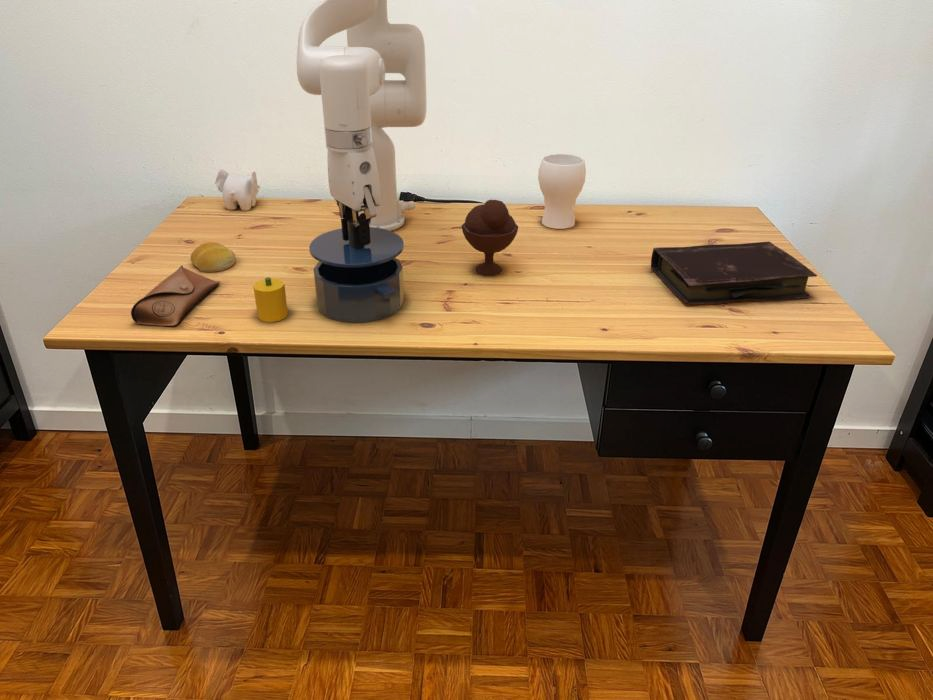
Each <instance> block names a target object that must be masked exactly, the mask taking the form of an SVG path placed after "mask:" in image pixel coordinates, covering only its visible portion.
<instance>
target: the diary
mask: <svg viewBox="0 0 933 700" xmlns="http://www.w3.org/2000/svg"><path fill="white" fill-rule="evenodd" d="M650 269H651V270H652V271H653V272H654V273H655V274H656V275H657V276H658V278H660V280H661V281H662V282H663V283H664V285H666V286H667V287H668V288H669V289H670V291H672V293H673V294H674V295H675V296H676V297H677V298H678V299H679V300H680V301H682V302H683V303H685V304H689V305H709V304H711V305H712V304H715V305H716V304H718V305H719V304H725V303H727V304H728V303H734V302H744V301H761V302H763V301H764V302H765V301H766V302H779V301H789V300H797V299H807V298H811V297H812V295H810V293H808V292H806V288H807V284H808V280H809V278H812V277H813V278H814V277H817V276H818V275H817V273H815V272H814V271H812V270H811V269H810V268H808V266H807V265H805V264H804V263H802V262H801V261H799V260H798V259H797V258H795V257H794V256H793V255H791V254H790V253H788V252H786V250H783V249H782V248H780V247H778V245H775V244H774V243H772V242H771V241H757V242H746V243H745V242H744V243H726V244H724V243H722V244H703V245H693V246H692V245H691V246H673V247H672V246H669V247H667V246H665V247H663V246H661V247H653V248H652V252H651V258H650Z"/></svg>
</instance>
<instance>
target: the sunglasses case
mask: <svg viewBox="0 0 933 700" xmlns="http://www.w3.org/2000/svg"><path fill="white" fill-rule="evenodd" d="M219 284H221V282H220V281H216V280H213V279H210V278H209V277H206V276H204V275H201V274H200V273H197V272H195V271H193V270H190V269H188V268H185V267H184V265H180V266H179V268H177V270H175V271H174V272H173V273H171V274H170V275H169V276H167V277H166V278H165V279H163V280H162V281H161V282H160V283H158V284H157V285H156V286H154V288H152V289H151V290H150V291H149V292H148V293H147V294H146V295H145V296H144V297H142V298H140V299H139V300H138V301H136V302H135V303H134V305H133V306H132V308H131V310H130V315H131V319H132V321H134V322H135V324H137V325H142V326H150V327H174V326H178V324H180V322H181V321H182V320H183V318H184V317H185V316H186V315H187V314H188V313H189V312H190V311H191V310H193V308H194V307H196V305H198V304H199V303H200V302H201V301H202V300H203V299H204V298H206V297H207V296H208V295H209V294H210V293H211V292H212V291H213V290H214V289H215V288H216V287H217V286H218V285H219Z"/></svg>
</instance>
